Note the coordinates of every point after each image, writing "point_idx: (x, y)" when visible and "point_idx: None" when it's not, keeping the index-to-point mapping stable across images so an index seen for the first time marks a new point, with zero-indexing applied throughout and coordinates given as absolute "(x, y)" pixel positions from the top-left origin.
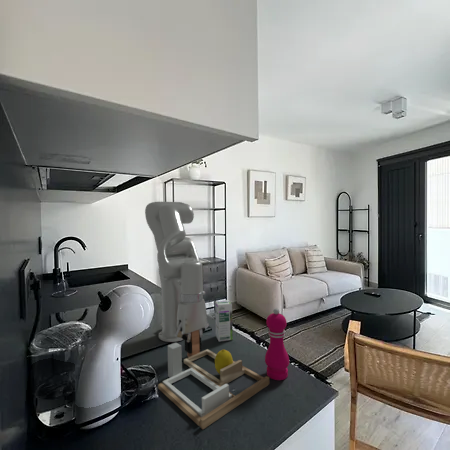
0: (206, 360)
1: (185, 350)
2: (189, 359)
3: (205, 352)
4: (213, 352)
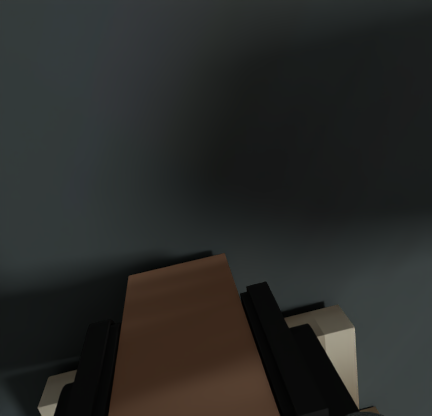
0: None
1: (92, 327)
2: None
3: None
4: (357, 401)
